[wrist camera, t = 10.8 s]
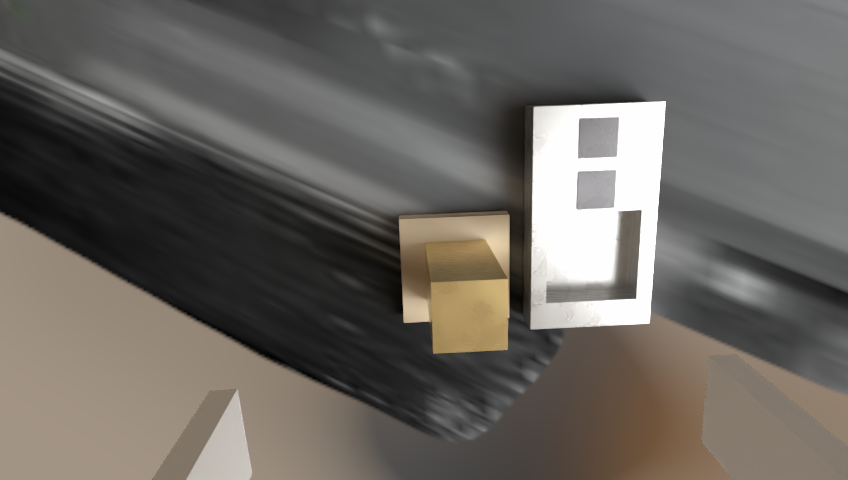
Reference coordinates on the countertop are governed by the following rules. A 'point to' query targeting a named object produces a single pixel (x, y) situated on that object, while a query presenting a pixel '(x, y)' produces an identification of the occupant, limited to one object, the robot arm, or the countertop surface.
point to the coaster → (439, 230)
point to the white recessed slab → (590, 212)
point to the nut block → (466, 297)
